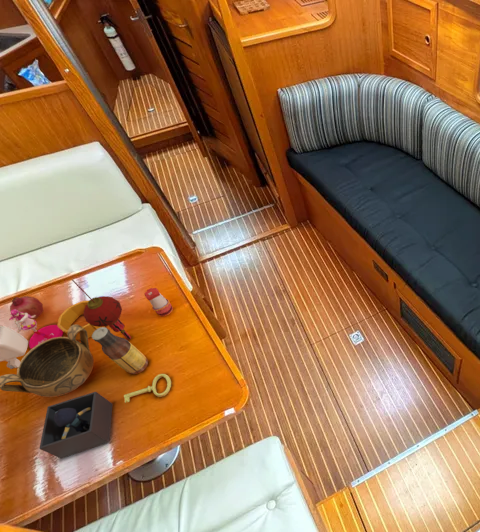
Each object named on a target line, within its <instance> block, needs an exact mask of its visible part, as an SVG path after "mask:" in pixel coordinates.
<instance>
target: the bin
mask: <svg viewBox="0 0 480 532" xmlns="http://www.w3.org/2000/svg"><path fill="white" fill-rule="evenodd" d="M113 404H114V403H112V402H111V401H110V400H108V399H107V398H105V397H104V396H103V395H102V394H100V393H99V392H98V391H93V392H89V393H86V394H84V395H80V396H76V397H74V398H71V399H70V398H69V399H68V400H64V401H61V402H58V403H54V404H52V405H48V406H47V408H46V414H45V418H44V422H43V423H44V424H43V429H42V433H41V438H40V442H39V448H38V449H39V450H41V451H43V452H46V453H47V454H49V455H52V456H54V457H56V458H59V459H60V460H61V459H62V460H63V459H65V458H67V457H70V456H73V455H77V454H79V453H82V452H85V451H88V450H91V449H94V448H96V447H99V446H100V447H101V446H103V445H105V444H108V443H110V439H111V427H112V416H113V415H112V414H113ZM88 407H91V408H90V409H91V410H88V411H87V412H85V413H84V414H82V415H80V416H79V419H82V420H86V421H87V424H90V428H85V426H84V427H83V429H86V430H87V431H86V432H83V433H81V432H77V431H76V430H75V428H73V427H72V426H70V428H69V431H68V433H67V435H66V438H65V439H62V436H63V433H64V430H65V427H66V425H65V426H61V427H60V426H58V425H57V423H56V422H55V421H54V415H55V413H56V412H57V411H58V410H60V409H63V408H73V409H75V410H76V412H77V413H79V412H81V411H82V410H84V409H86V408H88Z"/></svg>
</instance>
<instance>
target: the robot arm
mask: <svg viewBox="0 0 480 532" xmlns="http://www.w3.org/2000/svg"><path fill="white" fill-rule="evenodd" d="M28 347H29V340H28V339H27V338H26V337H25V336H23V335H22V334H21V333H20V332H17V330H15V329H13V328H11V327H9V326H5V325H0V363H1V362H7V363H6V367H7V368H9V369H10V370H13V369H17V368H18V367H19V366H20V361H21V360H20V359H18V358H19V357H24V356H25V355H26V354H27V353H26V352H27V350H28Z"/></svg>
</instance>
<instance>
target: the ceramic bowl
mask: <svg viewBox="0 0 480 532" xmlns="http://www.w3.org/2000/svg"><path fill="white" fill-rule="evenodd" d="M79 331H80V339H81V340H76V335H77V333H78V332H79ZM66 335H67V336H62V337H56V338H51V339H48V340H46V341H44V342H42V343H40V344H38V345H37V346H35V347H34V348H32V349H31V348H30V350H29V351H28V352H27V353H25V354H24V355H23V356H22V358H21V360H19V361H20V366H19V367H17V368H16V374H15V373H8V374H2V375H0V390H1V391H4V392H16V393H25V394H34V395H36V396H39V397H43V398H53V397H60V396H64V395H67V394H69V393H71V392H73V391H75V390H77V389H78V388H79V387H81V386H82V385H83V384H84V383H85V382H86V380H88V378H89V377H90V375H91V373H92V372H93V370H94V369H93V368H94V365H95V363H94V361H95V360H94V356H93V354H92V353H91V349H90V345H89V338H88V335H87V331H86V330H85V329H84V328H83V326H82V325H80V324H78V323H76V324H74V323H73V324H71V327H70V328H69V329H68V333H67V334H66ZM9 383H20V384H9Z"/></svg>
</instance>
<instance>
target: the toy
mask: <svg viewBox="0 0 480 532" xmlns="http://www.w3.org/2000/svg"><path fill="white" fill-rule="evenodd" d="M144 297H145V298H146V300H148V302H149V303H150V305H151V306H152V308H151V309H152V310H153V311H155V313H156V314H157V315H158V316H159V317H166V316H168V315H170V314H171V313H172V312H174V311H173V310H174V308H173V306H172V303H170V299H168V298H166V297H165V296H164V295H162V294H161V292H160V291H159V289H158V288H157V287H150V288H148V289H147V290H146V291H145V292H144Z"/></svg>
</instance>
